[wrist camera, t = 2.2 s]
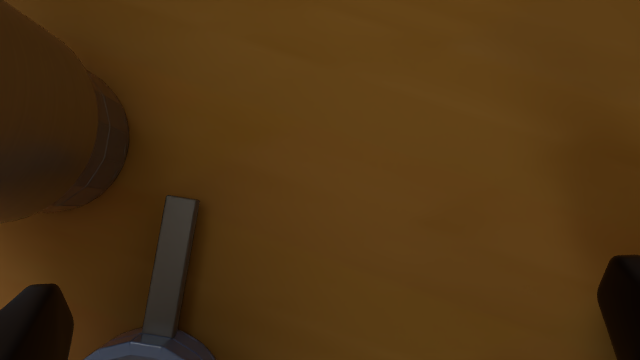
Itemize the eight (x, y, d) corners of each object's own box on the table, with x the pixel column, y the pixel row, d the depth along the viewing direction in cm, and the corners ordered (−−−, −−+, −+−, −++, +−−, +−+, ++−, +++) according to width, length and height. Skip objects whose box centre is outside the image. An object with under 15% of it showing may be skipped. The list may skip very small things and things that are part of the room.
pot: (114, 222, 23) (68, 225, 19) (-33, 199, 23) (-115, 195, 19) (141, 78, 24) (102, 46, 19) (-4, 54, 24) (-77, 17, 19)
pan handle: (176, 335, 22) (171, 340, 21) (146, 331, 22) (140, 335, 21) (200, 200, 23) (196, 199, 22) (170, 195, 23) (165, 194, 22)
